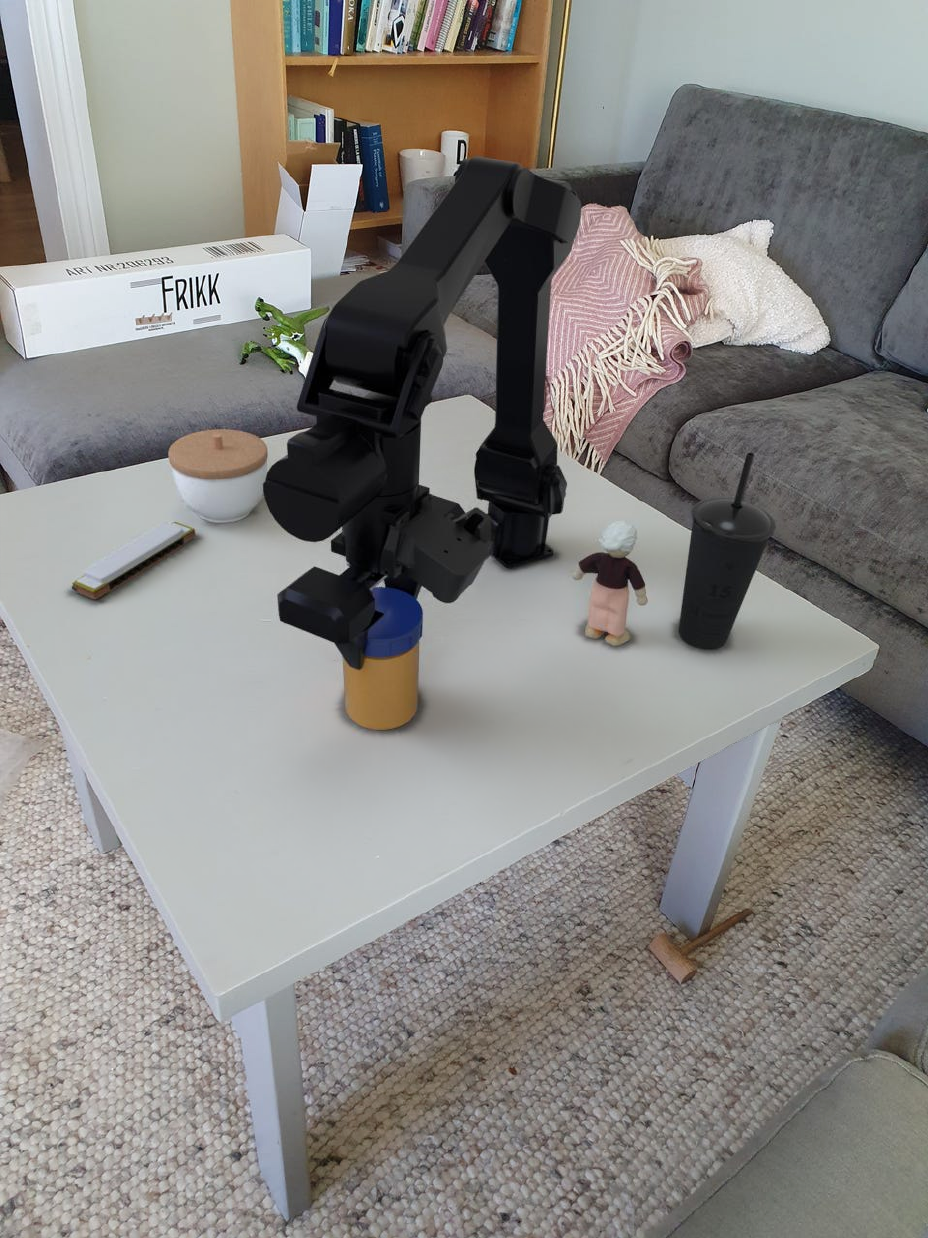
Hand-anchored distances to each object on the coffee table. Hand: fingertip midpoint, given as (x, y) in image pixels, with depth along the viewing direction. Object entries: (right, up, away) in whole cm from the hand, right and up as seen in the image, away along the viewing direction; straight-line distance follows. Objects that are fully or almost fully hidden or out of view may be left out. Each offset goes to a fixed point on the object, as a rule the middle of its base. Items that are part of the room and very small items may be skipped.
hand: (378, 645), depth 76 cm
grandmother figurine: (+21, +1, +15) cm, 26 cm away
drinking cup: (+31, 0, +16) cm, 35 cm away
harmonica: (-27, +8, +20) cm, 35 cm away
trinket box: (-21, +15, +30) cm, 39 cm away
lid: (0, +2, -2) cm, 3 cm away
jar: (0, -5, +4) cm, 7 cm away
